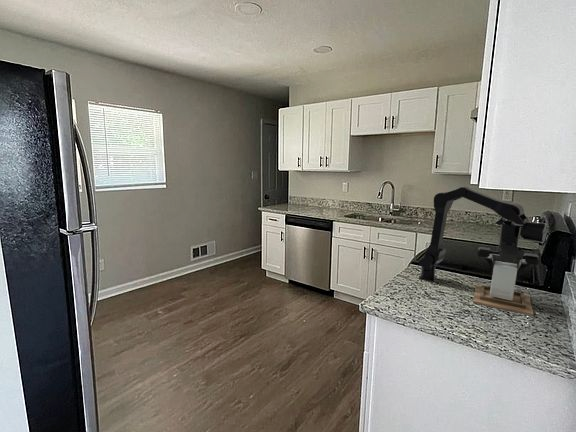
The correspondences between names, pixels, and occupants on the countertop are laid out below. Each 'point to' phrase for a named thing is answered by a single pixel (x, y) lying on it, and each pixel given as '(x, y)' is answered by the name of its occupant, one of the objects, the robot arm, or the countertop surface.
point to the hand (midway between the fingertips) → (504, 277)
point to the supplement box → (503, 280)
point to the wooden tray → (503, 301)
